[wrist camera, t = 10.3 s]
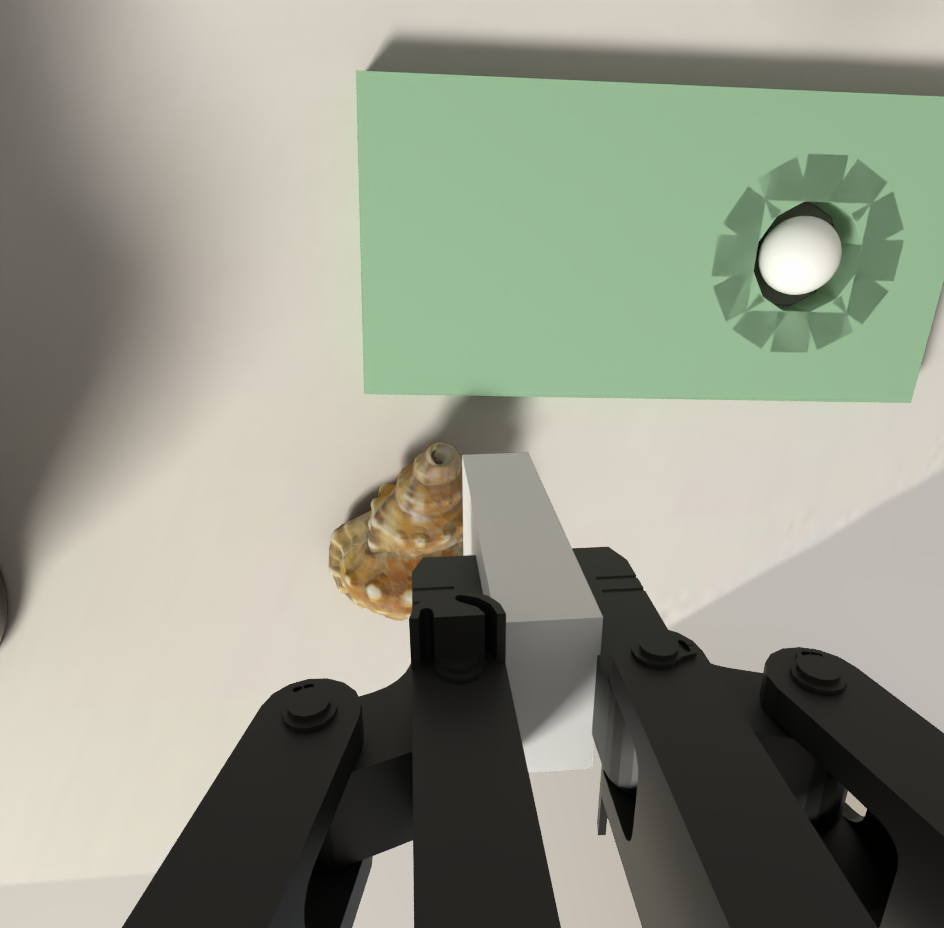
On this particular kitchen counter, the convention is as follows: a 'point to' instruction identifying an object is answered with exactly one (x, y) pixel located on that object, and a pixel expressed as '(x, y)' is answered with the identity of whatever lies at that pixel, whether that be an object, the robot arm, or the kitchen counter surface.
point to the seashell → (401, 533)
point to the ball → (799, 255)
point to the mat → (640, 238)
